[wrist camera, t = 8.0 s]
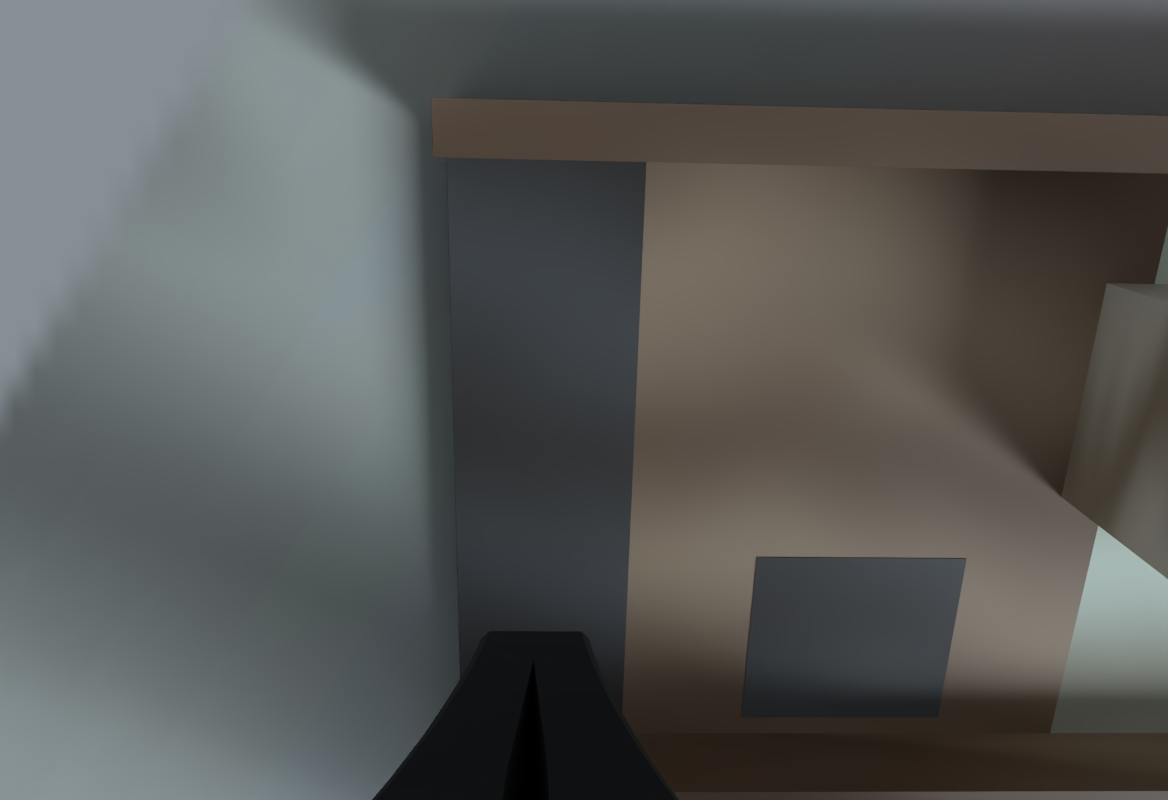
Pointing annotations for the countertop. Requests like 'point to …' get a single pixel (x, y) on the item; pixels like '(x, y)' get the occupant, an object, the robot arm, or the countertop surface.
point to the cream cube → (1126, 424)
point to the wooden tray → (809, 436)
